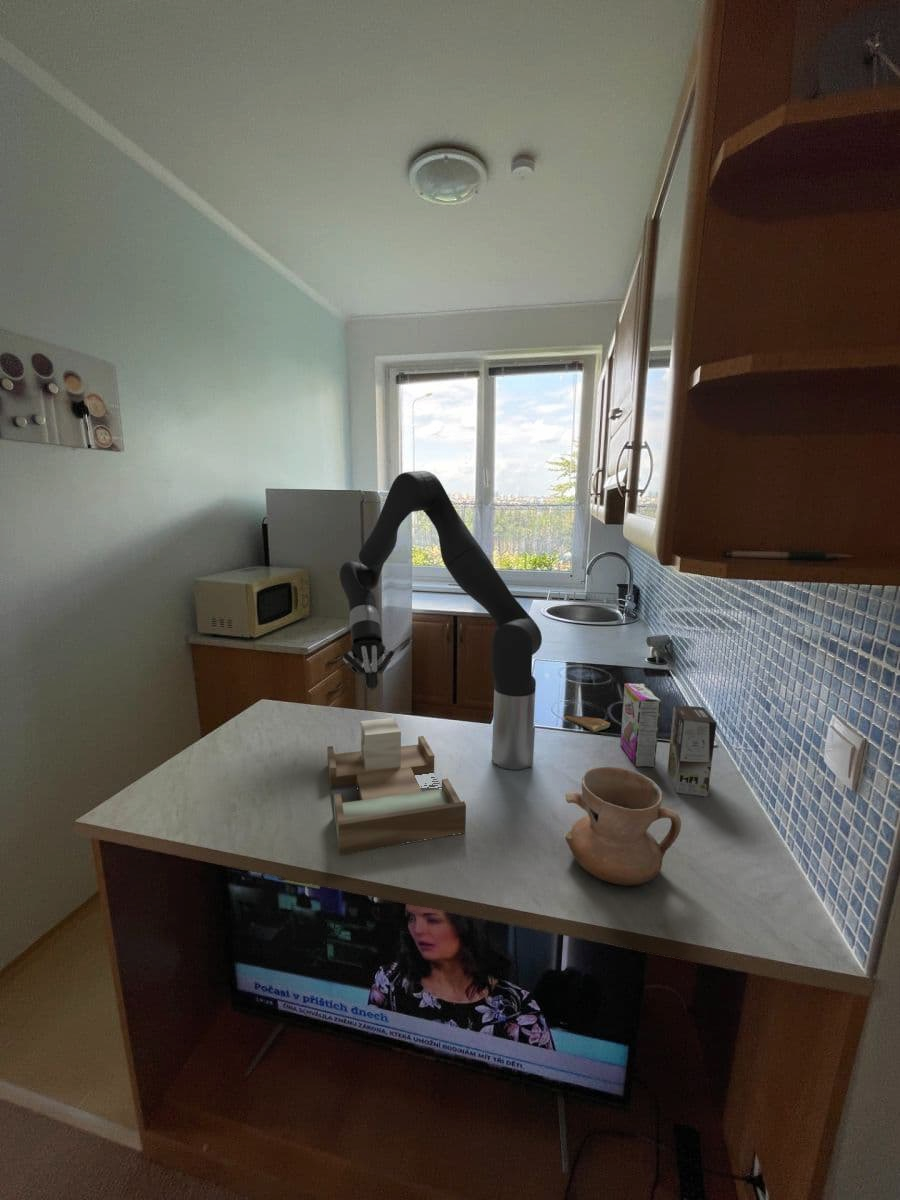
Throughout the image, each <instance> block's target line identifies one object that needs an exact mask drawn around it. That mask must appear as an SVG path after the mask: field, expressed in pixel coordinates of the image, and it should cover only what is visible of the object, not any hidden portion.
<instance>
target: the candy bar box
mask: <svg viewBox="0 0 900 1200" xmlns="http://www.w3.org/2000/svg"><path fill="white" fill-rule="evenodd" d="M623 685H624V689H623V700H622V717H621V729H620V742H619V746H620V747H621V748H622V750H623V751H624V753H625V754H626V756H627V757H628V759H629V760H630V761H631V763H632V765H633V766H634V767H638V768H656V756H657V747H658V746H657V745H658V734H659V733H658V732H659V724H660V723H659V722H660V713H661V712H660V710H661V702H662V701H661V699H660V698H659V697H657V695H655V693H654V692H652V690H651V689H649V687H647V686H646V685H645V683H633V682H632V683H630V682H629V683H628V682H626V683H624V684H623Z"/></svg>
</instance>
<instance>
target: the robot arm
mask: <svg viewBox="0 0 900 1200" xmlns="http://www.w3.org/2000/svg"><path fill="white" fill-rule="evenodd" d="M381 509H382V510H381V511H380V513H379V516H378V519H377V521H376V523H375V526H374V527H373V529H372V530H371V533H370V534H369V536H368V538H367V539H366V540H365V542H364V544H363V546H362V547H361V549H360V550H359V553H358V560H359V561H360V562H358V561H354V560H353V561H351V560H350V561H346V562H344V563H343V564H342V566H341V567H340V569H339V581H340V585H341V587H342V590H343V591H344V593H345V594H344V595H345V597H346V598H347V601H348V606H349V629H350V638H351V646H350V651H348V652H345V653H343V656H342V657H343V658H342V662H343V663H344V664H346V666H348V668H349V669H351V670H352V671H353V672H354V673H355V674H356V675H357V676H360V675H361V676H363V677H364V684H365V688H366V689H368V691H376V689H377V688H378V686H379V679H378V675H382V674H383V673H384V671H385V670H386V669H387V667H388V666H389V664H390V663H391V661H393V658H394V654H395V652H394V650H388V649H386V646H385V644H384V643H383V637H382V636H383V635H382V630H381V629H382V628H381V622H380V615H379V612H378V606H377V600H376V595H375V593H374V592H373V591H372V590H374V589H375V588H376V587H377V586H378V584H379V580H380V576H381V572H382V570H383V567H384V564H385V563H386V561H387V560H388V558H389V557H390V556H391V554H392V552H393V551H394V550H395V548H396V545H397V539H398V533H399V532H398V531H399V528H400V525H401V524H402V523H403V522H404V520H405V519H406V518H407V517H409V515H410V514H411V513H414V512H415V513H416V512H421V511H422V512H424V513H425V515H426V516H427V517H428V518H429V520H430V522H431V523H432V524H433V526H434V528H435V530H436V532H437V536H438V541H439V550H440V554H441V559H442V562H443V564H444V566H445V568H446V569H447V570H448V572H449V573H450V575H451V576H452V578H453V579H454V581H455V582H456V584H457V585H458V587H460V588H461V589H462V590H463V591H464V592H465V593H466V594H467V595H468V596H470V597H471V599H473V600H474V601H475V602H477V603H478V604H480V606H482V607H483V609H484V610H486V612H487V613H488V614H489V615H490V617H491V618H492V620H493V621H494V623H495V624H496V627H497V629H496V630H495V632H494V633H493V637H492V643H491V675H492V679H493V683H494V685H493V686H494V688H493V689H494V690H493V718H492V720H493V721H492V743H491V744H492V745H491V761H492V760H493V761H492V762H493V764H494V765H496V764H497V765H498V766H497V765H496V766H497V767H499V766H501V767H500V768H502V767H503V768H502V769H505V768H506V769H505V770H510V771H511V770H512V771H513V770H515V771H516V770H524V769H526V768H527V769H528V768H533V767H534V757H535V756H534V754H535V733H536V732H535V731H536V727H535V723H534V721H535V708H536V707H535V703H536V689H537V687H536V685H537V684H536V678H535V676H533V673H532V672H533V670H532V669H533V656H534V655H535V654H536V653H537V652H538V651H540V648H541V646H542V642H543V638H542V632H541V629H540V628H539V626H538V624H537V623H536V621H535V620H534V619H533V618H532V617H531V615H529V613H528V612H527V611H526V609H524V607H523V606H522V605H521V604H520V602H519V601H518V600H517V599H516V598H515V596H514V595H513V594H512V592H511V591H510V590H509V588H508V586H507V585H506V583H505V581H504V580H503V578H502V576H501V575H500V574H499V572H498V571H497V570H496V569H495V568H496V567H494V565H493V564H492V562H491V560H490V559H489V557H488V555H487V554H486V553H485V552H484V550H483V549H482V547H481V545H480V544H479V543H478V541H477V540H476V539H475V538H474V536H473V534H472V532H470V530H469V529H468V526H466V524H465V522H464V521H463V520H462V518H461V516H460V514H459V513H458V511H457V510H456V508H455V506H454V504H453V503H452V501H451V499H450V497H449V495H448V493H447V491H446V489H445V488H444V486H443V484H442V483H441V481H440V479H439V478H438V476H436V475H435V474H434V473H432V471H431V472H430V471H427V470H417V471H416V470H415V471H406V472H402V473H400V474H398V475H397V476H396V477H395V479H394V480H393V482H392V484H391V486H390V489H389V491H388V493H387V496H386V499H385V502H384V503H383V506H382V508H381ZM382 656H383V660H382V662H381V663H380V665H379V666H378V662H379V661H380V659H381V658H382ZM354 658H355V659H356V660H357V661H358V662H357V661H356V660H355V659H354ZM359 663H360V664H361V665H360V664H359Z"/></svg>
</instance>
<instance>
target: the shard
mask: <svg viewBox="0 0 900 1200" xmlns="http://www.w3.org/2000/svg"><path fill="white" fill-rule="evenodd" d="M563 716H564V717H565V720H567V721H569V722H570V723H574V724H575V725H579V726H581V727H582V728H585V729H587V730H589V731H591V732H593V733H596V732H599V731H602V730H606V729H608V728H609V727H610V726H611V722H608V721H606V720H604V719H602V718H599V717H592V716H591V717H590V716H581V715H579V716H578V715H566V714H564V715H563Z"/></svg>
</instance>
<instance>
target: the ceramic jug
mask: <svg viewBox="0 0 900 1200" xmlns="http://www.w3.org/2000/svg"><path fill="white" fill-rule="evenodd" d="M581 791H582V792H581V793H578V792H574V791H571V792H567V793H565V801H566V803H567V804H571V803H572V804H576V805H577V806H578V807H580V808H581V809H583V810H584V811H585V812H587V815H586V816H584V817H582V818H580V819H579V820H576V822H575V823H574V825H573V826H572V828H571V830H570V831H568V832H567V834H566V835H565V840H566V843H567V846H568V847H569V849H570V851H571V853H572V856H573V858H574V859H575V861H576V862H577V863H578V864H579V865H580V866H581V867H582V868H583V869H584V870H585V871H586V872H588V873H589V874H591V875H592V876H594V877H595V878H598V879H599V880H602V881H604V882H607V883H611V884H615V885H620V886H636V885H637V886H638V885H642V884H645V883H648V882H650V881H652V880H653V879H654V878H655V877H656V876H657V875H658V874H659V873H660V871H661V869H662V866H663V859H664V856H665V854H666V852H667V851H668V850H669V848H671V847H672V845H673V844H674V843H675V841H676V840H677V838H678V837H679V835H680V832H681V827H682V821H681V817H680V816H679V814H678V813H677V812H676V811H675V810H674V809H671V808H670V807H669V808H668V807H664V806H663V807H661V805H662V803H663V792H662V789H661V788H660V786H659V785H658V784H657V783H656V782H655V781H654V780H653V779H651V778H649V777H647V776H646V775H644V774H642V773H639V772H637V771H634V770H632V769H628V768H623V767H620V766H611V765H609V766H598V767H594V768H590V769H588V770H587V771H585V772H584V773H583V775H582V778H581ZM665 818H666V819H669V820H670V821H671V823H670V824H671V825H670V829H669V830H668V832H667V834H666V835H665V837H663V840H661V842H660V843H658V841H657V839H656V838H655V837H654V836H653V834H651V832H649V831H648V829H649V828H650V826H651V825H652V823H654V822H656V821H657V820H660V819H665Z"/></svg>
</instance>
